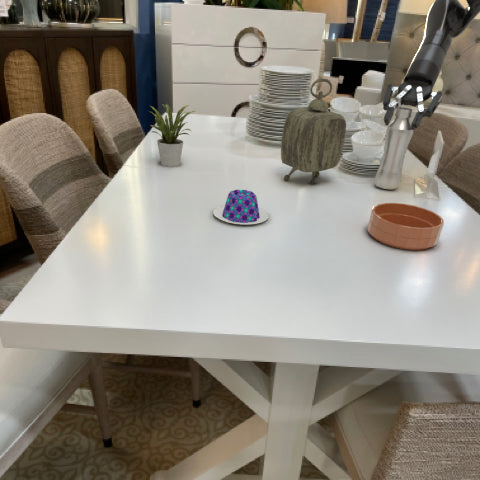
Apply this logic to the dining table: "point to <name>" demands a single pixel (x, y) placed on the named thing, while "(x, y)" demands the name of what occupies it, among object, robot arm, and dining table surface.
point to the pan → (405, 226)
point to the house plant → (170, 136)
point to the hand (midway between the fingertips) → (399, 125)
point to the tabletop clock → (313, 137)
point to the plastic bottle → (394, 150)
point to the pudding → (241, 209)
